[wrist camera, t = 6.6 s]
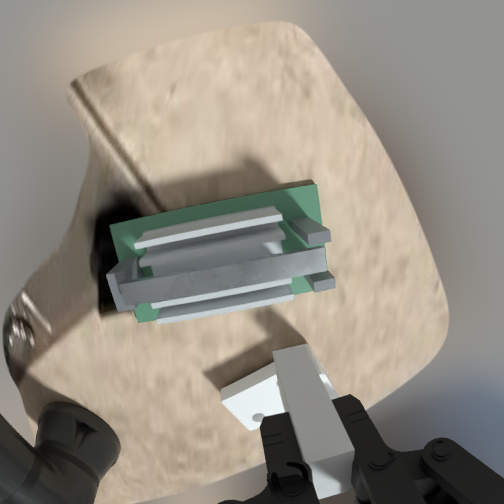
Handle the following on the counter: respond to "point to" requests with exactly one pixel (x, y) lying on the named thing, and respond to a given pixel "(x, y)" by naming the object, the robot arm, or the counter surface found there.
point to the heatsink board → (220, 250)
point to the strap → (224, 276)
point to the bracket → (264, 393)
